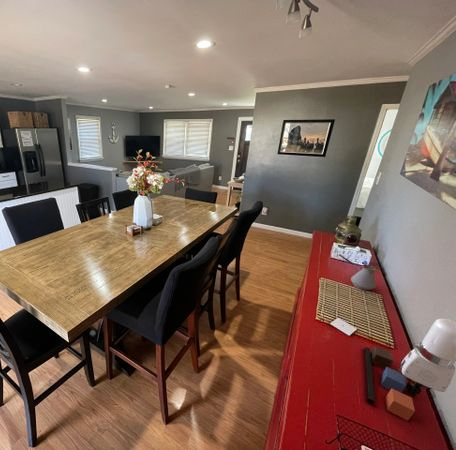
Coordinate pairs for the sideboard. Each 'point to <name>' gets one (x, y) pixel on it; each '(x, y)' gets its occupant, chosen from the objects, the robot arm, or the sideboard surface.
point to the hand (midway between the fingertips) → (410, 392)
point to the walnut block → (381, 357)
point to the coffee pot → (363, 276)
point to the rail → (369, 376)
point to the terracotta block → (400, 404)
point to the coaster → (343, 326)
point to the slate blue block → (393, 380)
